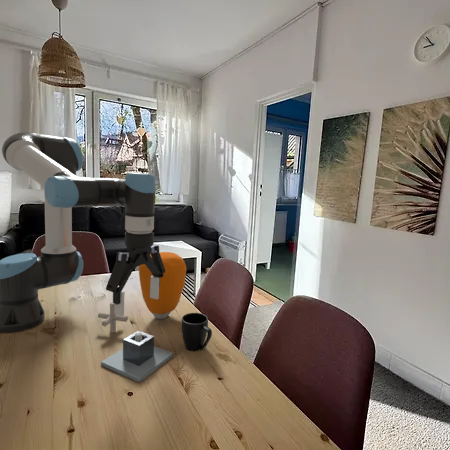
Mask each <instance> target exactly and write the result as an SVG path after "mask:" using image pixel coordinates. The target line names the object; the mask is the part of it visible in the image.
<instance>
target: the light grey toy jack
mask: <svg viewBox="0 0 450 450" xmlns="http://www.w3.org/2000/svg"><path fill="white" fill-rule="evenodd" d="M97 318H99V319H103V321H102V322H101V326H102V327H105V328H106V327H107V326H108V325H109V332H110V333H112V334H113V333H116V332H117V329H116V328H117V325H116V324H117V321H118V322H125V323H127V322H128V319H129V317H128V316H127V315H124V316H119V315H116V314H114V303H113V301H111V302H110V303H109V313H108V312H102V311H101V312H99V313H98V314H97Z"/></svg>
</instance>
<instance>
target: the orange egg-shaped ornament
mask: <svg viewBox="0 0 450 450" xmlns="http://www.w3.org/2000/svg"><path fill="white" fill-rule="evenodd" d="M159 253H160V256H161V259H162V262H163V265H164V268H165V273H162V274H163V277H162V278H161V277H160V286H159V299H154V298H150V278H151V276H154V275H152V273H151V272H150V270H149V269H148V268H147V266H146V265H145V264H144V265H143V264H142V265H140V266H138V274H139V275H138V276H139V283H140V290H141V294H142V298H143V301H144V303H145V306H146V308H147V310H148V312H150V313H151V315H153V317H154V318H155V319H157V320H162V319H163V320H164V319H166V318H167V317H168V316H169V315H170V314H171V313H172V312H173V311H174V310H175V309H176V308H177V307H178V305H179V303H180V299H181V296H182V293H183V290H184V288H185V284H186V283H185V282H186V281H185V280H186V275H187V264H186V262H185V260H184V258H183V257H182V256H180V255H178V254H177V253H175V252H171V251H170V252H169V251H159ZM150 256H151V254H150ZM151 257H152V256H151Z"/></svg>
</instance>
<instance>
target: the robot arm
mask: <svg viewBox="0 0 450 450" xmlns="http://www.w3.org/2000/svg"><path fill="white" fill-rule="evenodd" d="M82 151H83V150H82V149H81V146H80V145H79V143H78V142H77V140H74V139H73V138H70V137H65V136H61V135H51V134H45V133H35V132H29V131H23V132H18V133H15V134H12V135H10V136H9V137H8V138H6V139H5V141H4V142H3V144H2V148H1V153H2V157H3V159H4V160H5V162H6V163H7V164H8V165H9V166H10V167H12V168H13V169H15V170H17V171H20V172H21V171H22V172H23V173H25V174H26V175H27V176H29V177H30V178H31V179H32V180H34V181H35V182H36V183H37V184H39V186H41V187H42V188H43V189H44V190H43V191H44V226H45V227H44V229H45V231H44V232H45V233H44V234H45V235H44V237H45V245H44V246H43V247H42V248H41V249H40V256H37V255H36V254H35V253H33V252H32V253H31V252H26V253H16V254H13V255H9V256H6V257H4V258H1V259H0V333H2V334H5V333H6V334H8V333H9V334H10V333H12V334H13V333H18V332H23V331H27V330H30V329H33V328H35V327H37V326H39V325H41V324H42V323H43V322H44V321H45V318H46V317H45V314H46V313H45V310H44V308H43V305H42V303H41V301H40V299H39V290H44V289H47V288H52V287H55V286H57V287H58V286H61V285H67V284H69V283H72V282H75V281H77V280H79V278H81V275H82V273H83V270H84V259H82V258H83V256H82V254H81V253H80V252H79V251H77V247H76V246H75V245H73V232H72V231H73V230H72V229H73V226H72V224H73V221H72V220H73V217H72V216H73V215H72V214H73V213H72V212H73V211H72V209H73V208H80V207H81V208H82V207H107V206H116V207H117V206H119V207H124V208H125V211H124V212H125V213H124V215H125V216H124V218H125V219H124V220H125V221H124V230H125V233H124V245H125V246H126V251H125V252H121V251H118V252H116V255H115V256H116V258H115V262H114V265H113V268H112V271H111V273H110V275H109V278H108V281H107V284H106V287H105V290H106V291H108V292H112V302H113V303H114V314H116V315H119V316H125V291H124V290H123V289H124V287H126V284H127V283H128V280H129V279H130V277H131V275H132V273H133V271H134V270H136V268H137V267H139V266H140V265H142V264H143V265H144V264H145V265H146V266H147V268H148V269H149V270H150V272H151V273H152V275H154V276H151V278H150V298H154V299H159V286H160V277H161V278H162V277H163V274H162V273H165V268H164V265H163V262H162V259H161V256H160V246H159V245H157V244H155V243H154V242H155V241H154V240H155V233H154V232H153V230H155V213H156V212H155V211H156V210H155V207H156V191H157V189H156V177H155V175H153V174H152V173H139V172H138V173H137V172H127V173H126V175H125V179H123V178H118V177H88V176H87V177H85V176H78V175H77V172H79V171H81V169H82V168H83V164H84V157H83V156H84V155H83V152H82ZM150 254H151V256H152V257H151V256H150Z"/></svg>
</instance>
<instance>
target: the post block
mask: <svg viewBox="0 0 450 450" xmlns="http://www.w3.org/2000/svg"><path fill="white" fill-rule="evenodd" d="M135 341H137V342H141V341H142V333H136V334H135ZM173 357H174V353H173V352H171V351H169V350H165V349H163V348H161V347H157V346H155V345H154V356H153V357H151V358H150V359H148V360H147V361H146V362H144V363H143V364H141V365H140V366H137V365H135V364H133V363H130V362H128V361H126V360H123V348H122V349H120V350H118V351H117V352H115V353H114V354H112V355H111V354H110V356H108V357H107V358H105V359H103V360H101V361H100V365H101V366H103V367H104V368H106V369H109V370H110V371H111V370H112V371H113V372H115V373H118V374H120V375H122V376H124V377H126V378H129V379H131V380H133V381H135V382H136V383H141V382H142V381H143V380H145V379H146V378H148V377H149V375H151V374H152V373H153V372H154V371H156V370H158V369H159V368H160V367H161V366H163V365H164V364H165V363H166V362H168V361H169V360H170V359H171V358H173Z"/></svg>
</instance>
